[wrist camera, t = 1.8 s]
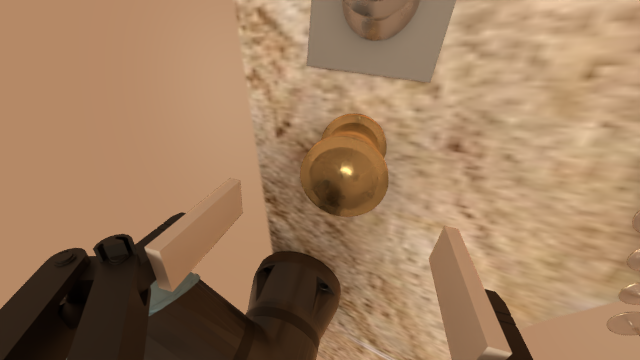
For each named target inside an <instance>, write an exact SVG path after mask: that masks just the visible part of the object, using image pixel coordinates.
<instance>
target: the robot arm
mask: <svg viewBox="0 0 640 360" xmlns="http://www.w3.org/2000/svg"><path fill="white" fill-rule="evenodd" d="M240 185H241V184H240V180H235V179H231V178H229V179H228V180H227V181H226V182H225V183H223V184H222V185H221V186H220V187H218V188H217V189H216V190H215V191H213V192H212V193H211V194H210V195H208V196H207V197H206V198H205V199H203V200H202V201H201V202H200V203H198V204H197V205H196V206H195V207H194V208H192V209H191V210H190V211H189V212H187V213H179V214H177V215H174V216H172V217H171V218H169V219H168V220H167V221H165V222H164V224H162V225H160V226H159V227H158V228H157V229H155V230H154V231H152V232H151V233H150V234H148V235H147V236H146V237H145V238H143V239H142V240H141V241H139V242H138V243H137V244H135V245H134V242H133V240H132V237H130V236H129V235H125V234H119V235H114V236H110V237H108V238H105V239H103V240H101V241H100V242H99V243H98V244H96V246H95V247H94V248H93V250H94V252H95V254H96V256H88V255H87V253H86V251H85V250H83V249H82V248H72V249H67V250H64V251H62V252H59V253H57V254H55V255H53V256H52V257H50V258H49V259H48V260H47V261H46V262H45V263H44V264H43V265H42V266H41V267H40V268H39V269H38V270H37V271H36V272H35V273H34V274H33V275H32V277H31V278H30V279H29V280H28V281H27V282H26V283H25V284H24V285H23V286H22V287H21V288H20V289H19V290H18V291H17V292H16V293H15V294H14V295H13V297H11V299H10V300H9V301H8V302H7V303H6V304H5V305H4V306H3V307H2V308H1V309H0V360H316V357H317V351H318V347H319V343H320V339H321V337H322V335H323V334H324V332H325V330H326V328H327V327H328V325H329V323H330V321H331V320H332V318H333V316H334V314H335V312H336V310H337V308H338V305H339V299H340V285H339V282H338V280H337V278H336V277H335V275H334V274H333V273H332V271H331V270H330V269H329V268H328V267H326V266H325V265H324V264H322V263H321V262H319V261H318V260H316V259H314V258H312V257H310V256H307V255H304V254H300V253H295V252H279V253H275V254H272V255H270V256H268V257H267V258H266V259H264V260H263V261H262V263H261V264H260V266H259V268H258V270H257V271H256V273H255V276H254V280H253V285H252V291H251V296H250V301H249V306H248V310H247V313H246V315H244V314H243V313H242V312H241V311H240V310H238V309H237V308H236V307H234V306H233V305H232V304H231V303H229V302H228V301H227V300H226V299H224V298H223V297H222V296H221V295H219V294H218V293H217V292H216V291H214V290H213V289H212V288H210V287H209V286H208V285H207V284H206V283H204V282H203V281H202V280H200V276H199V275H198V274H193V273H192V272H191V271H192V269H193V268H194V267H195V266H196V265H197V264H198V263H199V262H200V261H201V259H202V258H203V257H204V256H205V255H206V254H207V253H208V251H209V250H210V249H211V248H212V247H213V246H214V245H215V243H216V242H217V241H218V240H219V239H220V238H221V237H222V236H223V235H224V233H225V232H226V231H227V230H228V229H229V228H230V227H231V226H232V224H233V223H234V222H235V221H236V220H237V219H238V218H239V216H240V215H241V214H242V201H241V200H242V199H241V186H240ZM429 262H430V266H431V270H432V275H433V279H434V284H435V288H436V292H437V297H438V301H439V306H440V310H441V314H442V319H443V323H444V328H445V332H446V337H447V341H448V345H449V350H450V354H451V359H452V360H533V358H532V356H531V354H530V352H529V350H528V348H527V346H526V344H525V342H524V340H523V338H522V336H521V334H520V332H519V330H518V328H517V327H516V326H515V325H516V324H515V322H514V320H513V318H512V317H511V314H510V312H509V310H508V308H507V306H506V304H505V302H504V301H503V300H502V299H501V298H500V296H499V295H498V294H497V293H496V292H494V291H490V290H486V289H484V287H483V285H482V283H481V280H480V278H479V276H478V273H477V271H476V269H475V266H474V264H473V262H472V260H471V257H470V255H469V253H468V250H467V248H466V246H465V243H464V241H463V239H462V237H461V234H460V232H459V230H458V229H456V228H451V227H447V226H444V228H443V230H442V232H441V234H440V236H439V239H438V241H437V243H436V245H435V247H434V249H433V251H432V253H431V255H430V257H429Z"/></svg>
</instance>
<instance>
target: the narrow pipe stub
mask: <svg viewBox="0 0 640 360" xmlns="http://www.w3.org/2000/svg"><path fill="white" fill-rule="evenodd" d="M419 3H420V0H342V8H343V13H344V16H345V19H346V21H347V23H348V25H349V26H350V27H351V29H352V30H353V31H354V32H355V33H356V34H358V35H359V36H360V37H362V38H364V39H367V40H372V41H380V40H385V39H388V38H390V37H392V36H394V35H396V34H397V33H399V32H400V31H401V30H402V29H403V28H404V27H405V26H406V25H407V24H408V23H409V22H410V20H411V19H412V17H413V16H414V14H415V12H416V10H417V8H418V6H419Z"/></svg>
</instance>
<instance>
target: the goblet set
mask: <svg viewBox="0 0 640 360" xmlns="http://www.w3.org/2000/svg"><path fill="white" fill-rule="evenodd" d="M632 224H633V227H634V229H635V230H636V231H638V232H640V210H639V211H638V212H637V213H636V215H635V216H634V218H633V221H632ZM627 264H628V266H629V267H630V268H632V269H634V270H637V271H640V249H638V250H636V251H635V252H633V253H632V254H631V255H630V256H629V257H628V259H627ZM618 296H619V299H620V300H621V301H623V302H625V303H628V304H633V305H640V283H636V284H632V285H629V286H626V287H625V288H623V289H622V290H621V291H620V292H619V295H618ZM607 327H608V329H609V330H610V331H612V332H614V333H617V334H621V335H639V336H640V312H626V313H621V314H618V315H615V316H613V317H611V318H610V319H609V320H608V321H607Z"/></svg>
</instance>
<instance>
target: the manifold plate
mask: <svg viewBox="0 0 640 360" xmlns="http://www.w3.org/2000/svg"><path fill="white" fill-rule="evenodd" d="M455 2H456V0H420V3H419V6H418V8H417V10H416V12H415V14H414V16H413V17H412V19H411V20H410V22H409V23H408V24H407V25H406V26H405V27H404V28H403V29H402V30H401V31H400V32H399V33H397V34H396V35H394V36H392V37H390V38H388V39H385V40H380V41H372V40H367V39H364V38H362V37H360V36H359V35H358V34H356V33H355V32H354V31H353V30H352V29H351V27H350V26H349V25H348V23H347V21H346V19H345V16H344V13H343V8H342V0H312V1H311V15H310V29H309V42H308V56H307V66H311V67H319V68H326V69H333V70H341V71H348V72H355V73H363V74H370V75H377V76H385V77H392V78H399V79H407V80H414V81H421V82H429V83H430V82H431V78H432V75H433V72H434V69H435V66H436V63H437V59H438V56H439V53H440V50H441V47H442V43H443V40H444V37H445V34H446V31H447V28H448V24H449V21H450V18H451V15H452V12H453V8H454V5H455Z"/></svg>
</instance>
